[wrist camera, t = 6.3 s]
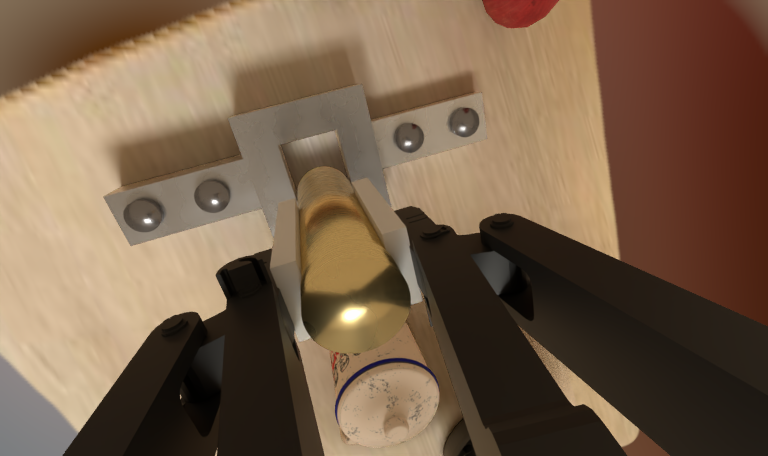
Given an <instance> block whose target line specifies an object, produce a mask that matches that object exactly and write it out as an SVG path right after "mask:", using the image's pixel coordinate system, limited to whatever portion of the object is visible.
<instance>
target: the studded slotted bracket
mask: <svg viewBox="0 0 768 456" xmlns="http://www.w3.org/2000/svg"><path fill="white" fill-rule="evenodd" d="M228 121H229V123H230V126H231V129H232V131H233V134H234V136H235V139H236V142H237V144H238V147H239V149H240V152H241V155H237V156H233V157H230V158H226V159H222V160H219V161H215V162H211V163H207V164H204V165H200V166H196V167H192V168H189V169H185V170H181V171H177V172H174V173H170V174H166V175H163V176H159V177H155V178H151V179H148V180H144V181H140V182H136V183H133V184H129V185H125V186H122V187H120V188H118V189H116V190H114V191H113V192H111V193H109V194H107V195H105V196H104V199H105V201H106V203H107V205H108V206H109V208H110V210H111V212H112V213H113V215H114V217H115V219H116V221H117V222H118V224H119V226H120V228H121V230H122V231H123V233H124V235H125V237H126V239H127V240H128V242H129V244H130V246H133V245H136V244H140V243H143V242H147V241H150V240H154V239H157V238H161V237H164V236H168V235H171V234H175V233H178V232H181V231H185V230H188V229H192V228H195V227H199V226H202V225H206V224H209V223H213V222H216V221H220V220H223V219H227V218H230V217H234V216H237V215H241V214H244V213H248V212H251V211H255V210H258V209H263V212H264V215H265V217H266V220H267V222H268V225H269V228H270V230H271V233H272V235H273V238H274V232H275V225H276V217H277V210H278V203H279V202H283V201H286V200H290V199H293V198H295V199H296V202H297V205H298V194H297V193H298V192H297V191H296V188H295V186H294V183H293V180H292V177H291V174H290V171H289V168H288V165H287V162H286V159H285V156H284V153H283V150H282V147H281V144H285V143H289V142H292V141H296V140H300V139H304V138H307V137H311V136H315V135H319V134H322V133H326V132H330V131H333V130H335V134H336V137H337V141H338V144H339V148H340V152H341V155H342V159H343V162H344V166H345V170H346V173H347V177H348V178H347V179H348V181H349V182H350V184H351V186H352V183H351V182H353V181H357V180H360V179H364V178H368V179H369V180H370V182H371V183H372V184H373V185H374V187H375V188H376V189H377V191H378V192H379V193H380V194H381V196H382V197H383V198H384V199H385V201H386V202H387V203H388V204H389V206H390V207H391V203H390V199H389V195H388V191H387V186H386V182H385V178H384V174H383V169H384V168H388V167H391V166H395V165H398V164H402V163H405V162H409V161H412V160H416V159H419V158H423V157H426V156H430V155H433V154H437V153H440V152H444V151H448V150H451V149H455V148H458V147H462V146H465V145H469V144H472V143H476V142H479V141H483V140H486V139H487V131H486V122H485V114H484V105H483V97H482V92H472V93H468V94H465V95H461V96H457V97H454V98H450V99H446V100H442V101H439V102H435V103H431V104H427V105H424V106H420V107H416V108H413V109H409V110H405V111H401V112H398V113H394V114H390V115H386V116H383V117H379V118H375V119H370V115H369V110H368V106H367V102H366V98H365V93H364V89H363V85H362V84H355V85H351V86H347V87H343V88H339V89H335V90H332V91H328V92H324V93H320V94H316V95H312V96H308V97H304V98H300V99H296V100H292V101H288V102H284V103H281V104H277V105H273V106H269V107H265V108H261V109H257V110H253V111H249V112H245V113H241V114H237V115H234V116H231V117H229V118H228ZM352 188H353V186H352Z"/></svg>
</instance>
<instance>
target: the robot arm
mask: <svg viewBox="0 0 768 456" xmlns="http://www.w3.org/2000/svg"><path fill="white" fill-rule="evenodd" d="M351 183H352V186H353V190H354V194H355V195H356V197H357V199H358V201H359V203H360V204H361V206H362V208H363V210H364V211H365V213H366V215H367V217H368V219H369V220H370V222H371V224H372V226H373V228H374V229H375V231H376V233H377V235H378V237H379V238H380V240H381V242H382V244H383V246H384V247H385V249H386V251H387V252H388V253H389V254H390V255H391V256H392V258H393V259H394V261H395V263H396V264H397V266H398V268H399V269H400V271H401V273H402V275H403V276H404V278H405V280H406V282H407V284H408V287H409V290H410V295H411V305H413V304H416V303H419V302H422V301H423V300H422V296H421V291H422V292H423V294H424V298H425V303H426V307H427V312H428V316H429V321H430V325H431V327H432V326H433V328H434V331H435V334H436V337H437V340H438V343H439V346H440V349H441V352H442V355H443V358H444V361H445V364H446V367H447V370H448V373H449V376H450V379H451V382H452V385H453V388H454V391H455V394H456V397H457V400H458V402H459V405H460V408H461V411H462V414H463V417H464V419H463V420H462V421H460V423H459V424H458V425H457V426H456V427H455V428H454V430H453V431H452V433H451V434H450V436H449V438H448V440H447V442H446V445H445V448H444V454H443V456H627V455H626V453H625V452H624V451H623V449H622V448H621V446H620V445H619V444H618V442H617V441H616V439H615V438H614V437H613V435H612V434H611V433H610V431H609V430H608V428H607V427H606V426H605V424H604V423H603V422H602V420H601V419H600V418H599V417H598V416H597V415H596V413H595V412H594V411H593V410H592V409H591V408H589V407H588V406H586V405H584V404H583V405H578V406H573V405H572V404H571V403H570V402H569V401H568V399H567V398H566V397H565V395H564V394H563V392H562V391H561V389H560V388H559V386H558V385H557V383H556V382H555V380H554V379H553V377H552V376H551V374H550V373H549V371H548V370H547V368H546V367H545V365H544V364H543V362H542V361H541V359H540V358H539V356H538V355H537V353H536V352H535V350H534V349H533V347H532V346H531V344H530V343H529V341H528V340H527V338H526V337H525V336H524V334H523V333H522V331H521V330H520V328H519V327H518V325H519V326H520V327H521V328H522V329H523V330H525V331H526V332H527V333H528V334H529V335H530V336H532V337H533V338H534V339H535V340H536V341H537V342H539V343H540V344H541V345H542V346H543V347H544V348H546V349H547V350H548V351H549V352H550V353H551V354H553V355H554V356H555V357H556V358H557V359H558V360H560V361H561V362H562V363H563V364H564V365H565V366H567V367H568V368H569V369H570V370H571V371H572V372H574V373H575V374H576V375H577V376H578V377H579V378H581V379H582V380H583V381H584V382H585V383H586V384H588V385H589V386H590V387H591V388H592V389H593V390H595V391H596V392H597V393H598V394H599V395H600V396H602V397H603V398H604V399H605V400H606V401H607V402H609V403H610V404H611V405H612V406H613V407H614V408H616V409H617V410H618V411H619V412H620V413H621V414H623V415H624V416H625V417H626V418H627V419H628V420H630V421H631V422H632V423H633V424H634V425H635V426H637V427H638V428H639V429H640V430H641V431H642V432H644V433H645V434H646V435H647V436H648V437H649V438H651V439H652V440H653V441H654V442H655V443H656V444H658V445H659V446H660V447H661V448H662V449H663V450H665V451H666V452H667V453H668V454H669V455H670V456H768V326H766V325H763V324H761V323H759V322H757V321H754V320H752V319H749V318H748V317H746V316H743V315H741V314H739V313H737V312H734V311H732V310H730V309H727V308H725V307H723V306H721V305H719V304H716V303H714V302H712V301H710V300H707V299H705V298H703V297H701V296H698V295H696V294H694V293H692V292H689V291H687V290H685V289H683V288H680V287H678V286H676V285H674V284H671V283H669V282H667V281H665V280H662V279H660V278H658V277H656V276H653V275H651V274H649V273H647V272H645V271H642V270H640V269H638V268H636V267H633V266H631V265H629V264H627V263H624V262H622V261H620V260H618V259H615V258H613V257H611V256H609V255H606V254H604V253H602V252H600V251H597V250H595V249H593V248H591V247H588V246H586V245H584V244H582V243H579V242H577V241H575V240H573V239H571V238H568V237H566V236H564V235H562V234H559V233H557V232H555V231H553V230H550V229H548V228H546V227H544V226H541V225H539V224H537V223H535V222H532V221H530V220H528V219H526V218H523V217H521V216H518V215H514V214H507V213H501V214H495V215H494V216H490V217H487V218H485V219H483V220H482V221H481V222H480V225H479V228H480V233H476V234H469V235H457V234H456V233H455V231H454V230H453V229H452V228H451V227H450V226H446V225H436V224H435V223H434V222H433V221H432V220H431V219H430V218H428V216H427V215H426V214H424V212H423V211H422V210H421V209H420V208H416V207H412V206H409V207H406V208H403V209H399V210H396V211H393V210H392V208H391V207H390V206H389V204H388V203H387V202H386V201H385V199H384V198H383V197H382V196H381V194H380V193H379V192H378V191H377V189H376V188H375V187H374V185H373V184H372V183H371V182H370V180H369V179H368V178H364V179H360V180H357V181H353V182H351ZM216 277H217V280H218V282H219V284H220V286H221V288H222V290H223V292H224V294H225V296H226V299H227V306H226V310H224V311H223V312H221V313H219V314H217V315H215V316H213V317H211V318H209V319H207V320H205V321H202V320H201V318H200V316H199V314H198V313H196V312H186V313H182V314H179V315H174V316H172V317H170V319H169V318H168V319H166V320H165V321H163V323H161V324H160V325H159V326H157V327H156V328H155V329H154V330H153V331H152V332H151V333H150V335H149V336H148V337H147V339H146V340H145V342H144V343H143V344H142V346H141V347H140V349H139V350H138V351H137V353H136V354H135V356H134V357H133V358H132V360H131V361H130V362H129V364H128V365H127V367H126V368H125V369H124V371H123V372H122V374H121V375H120V376H119V378H118V379H117V381H116V382H115V383H114V385H113V386H112V388H111V389H110V390H109V392H108V393H107V394H106V396H105V397H104V399H103V400H102V401H101V403H100V404H99V406H98V407H97V408H96V410H95V411H94V413H93V414H92V415H91V417H90V418H89V419H88V421H87V422H86V424H85V425H84V426H83V428H82V429H81V431H80V432H79V433H78V435H77V436H76V438H75V439H74V440H73V442H72V443H71V445H70V446H69V447H68V449H67V450H66V451H65V453H64V454H63V456H215V453H216V450H217V456H324V451H323V447H322V443H321V439H320V435H319V430H318V426H317V422H316V418H315V414H314V409H313V405H312V401H311V397H310V393H309V388H308V384H307V380H306V376H305V372H304V367H303V363H302V359H301V355H300V351H299V348H298V346H297V343H296V341H295V338H294V330H295V333H296V335H297V338H298V340H299V342H301V341H304V340H307V339H310V338H311V337H310V336H309V334H308V333H307V331H306V329H305V327H304V325H303V321H302V316H301V293H300V283H301V277H302V276H301V250H300V223H299V208H298V205H297V202H296V199H295V198H293V199H290V200H286V201H283V202H279V203H278V210H277V217H276V225H275V232H274V240H273V247H272V249H269V250H266V251H262V252H259V253H256V254H254V255H251V256H245V257H242V258H238V259H236V260H234V261H231V262H229V263H228V264H226V265H224V266H223V267H222V268H221V269H219V270H218V272H217V273H216ZM420 289H421V291H420ZM180 395H181V396H182V398H181V400H180ZM217 447H218V449H217Z"/></svg>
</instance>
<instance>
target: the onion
mask: <svg viewBox="0 0 768 456" xmlns="http://www.w3.org/2000/svg"><path fill="white" fill-rule="evenodd" d="M482 1H483V4H484V7H485V10H486V12H487V13H488V15H489V16H490V17H491V18H492V19H493V20H494V21H495V23H497V24H500V25H502V26H504V27H507V28H522V27H528V26H530V25H532V24H534V23H535V22H537V21H539V20H540V19H542V18H544V17H545V16H546V15H547V14H548V13H549V12H550V10H551V9H552V8H553V7H554V6H555V5H556V3H557V2H558V1H559V0H482Z"/></svg>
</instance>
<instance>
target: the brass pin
mask: <svg viewBox="0 0 768 456" xmlns="http://www.w3.org/2000/svg"><path fill="white" fill-rule="evenodd" d="M297 194H298V208H299V223H300V250H301V276H302V277H301V283H300V293H301V316H302V321H303V325H304V327H305V329H306V331H307V333H308V334H309V336H310V337H311V338H312V339H313V340H314V341H315V342H316V343H318V344H319V345H320V346H322V347H324V348H326V349H328V350H331V351H334V352H338V353H344V354H354V353H362V352H366V351H370V350H373V349H375V348H377V347H379V346H381V345H383V344H385V343H386V342H388V341H389V340H390V339H391V338H393V337H394V336H395V335H396V334H397V333H398V332H399V330H400V329H401V328H402V326H403V325H404V323H405V321H406V319H407V317H408V314H409V311H410V305H411V295H410V290H409V287H408V284H407V282H406V280H405V278H404V276H403V275H402V273H401V271H400V269H399V268H398V266H397V264H396V263H395V261H394V259H393V258H392V256H391V255H390V254H389V253H388V252H387V251H386V249H385V247H384V246H383V244H382V242H381V240H380V238H379V237H378V235H377V233H376V231H375V229H374V228H373V226H372V224H371V222H370V220H369V219H368V217H367V215H366V213H365V211H364V210H363V208H362V206H361V204H360V203H359V201H358V199H357V197H356V195H355V194H354V190H353V188H352V186H351V184H350V182H349V181H348V179H347V178H346V176H345V175H344V174H343V173H342V172H341V171H339V170H337V169H335V168H332V167H328V166H322V167H316V168H314V169H312V170H310V171H308V172H307V173H306V174H305V175H304V176H303V177H302V179H301V180H300V182H299V185H298V193H297Z"/></svg>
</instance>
